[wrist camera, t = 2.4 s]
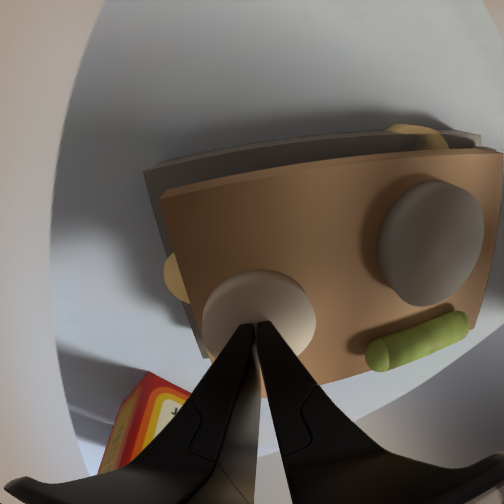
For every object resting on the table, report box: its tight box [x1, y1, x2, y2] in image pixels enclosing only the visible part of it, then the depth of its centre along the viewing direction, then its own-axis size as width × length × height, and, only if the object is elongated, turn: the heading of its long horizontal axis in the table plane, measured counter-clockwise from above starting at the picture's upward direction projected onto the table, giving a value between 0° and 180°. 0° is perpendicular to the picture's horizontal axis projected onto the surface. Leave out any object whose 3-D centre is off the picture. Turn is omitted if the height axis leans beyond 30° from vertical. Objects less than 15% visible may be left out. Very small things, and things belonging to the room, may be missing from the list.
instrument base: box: [143, 124, 481, 358], centre depth 14 cm, size 16×11×2 cm
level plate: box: [159, 146, 503, 398], centre depth 10 cm, size 14×9×3 cm, turn 100°
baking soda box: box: [97, 371, 191, 475], centre depth 14 cm, size 10×6×16 cm
